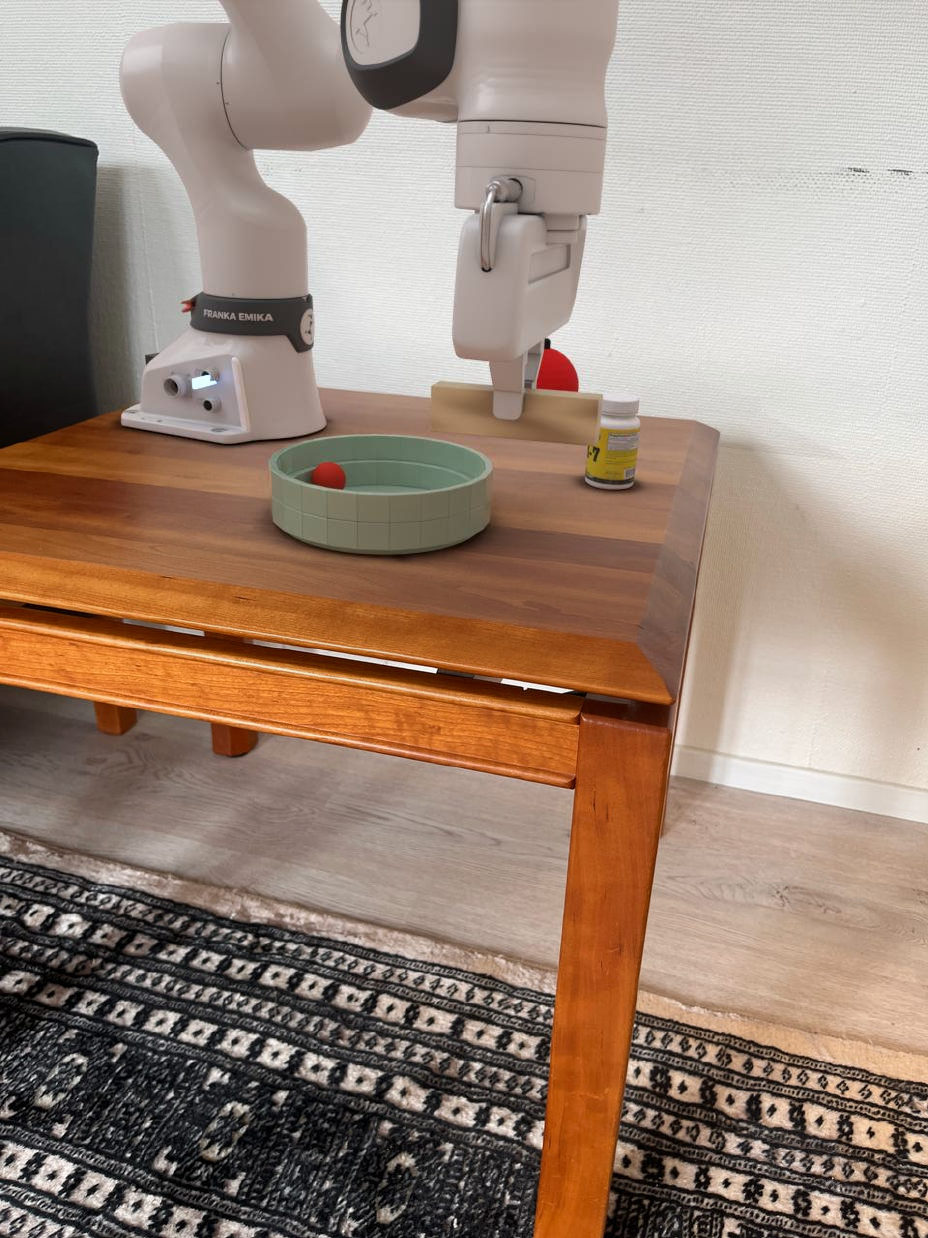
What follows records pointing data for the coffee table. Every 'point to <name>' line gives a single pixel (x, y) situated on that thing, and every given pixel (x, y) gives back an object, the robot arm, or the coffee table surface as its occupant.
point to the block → (541, 421)
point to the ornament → (556, 371)
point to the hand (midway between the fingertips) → (514, 412)
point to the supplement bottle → (615, 443)
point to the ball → (329, 476)
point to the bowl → (382, 493)
